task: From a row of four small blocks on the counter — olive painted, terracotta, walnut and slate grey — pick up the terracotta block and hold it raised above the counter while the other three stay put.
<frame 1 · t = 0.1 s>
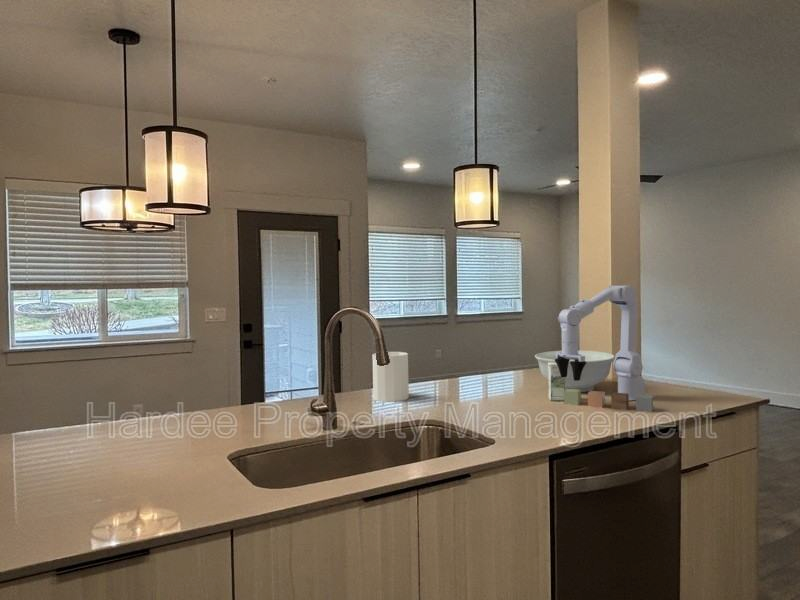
hand: (570, 378, 206), 10 cm above the table, tool pointing down, fingers open, 7 cm apart
syrup box: (556, 400, 218), on the table
bowl: (574, 389, 238), on the table
walnut block: (620, 408, 202), on the table
terracotta block: (596, 405, 206), on the table
olive block: (572, 403, 211), on the table
container: (390, 398, 228), on the table
slate block: (644, 410, 198), on the table
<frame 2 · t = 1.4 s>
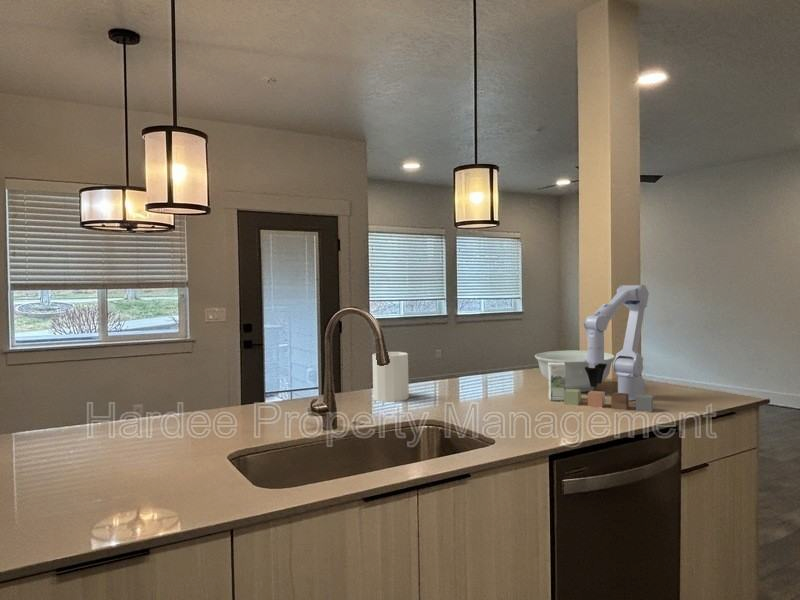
hand: (596, 385, 206), 8 cm above the table, tool pointing down, fingers open, 7 cm apart
nothing on the table moved.
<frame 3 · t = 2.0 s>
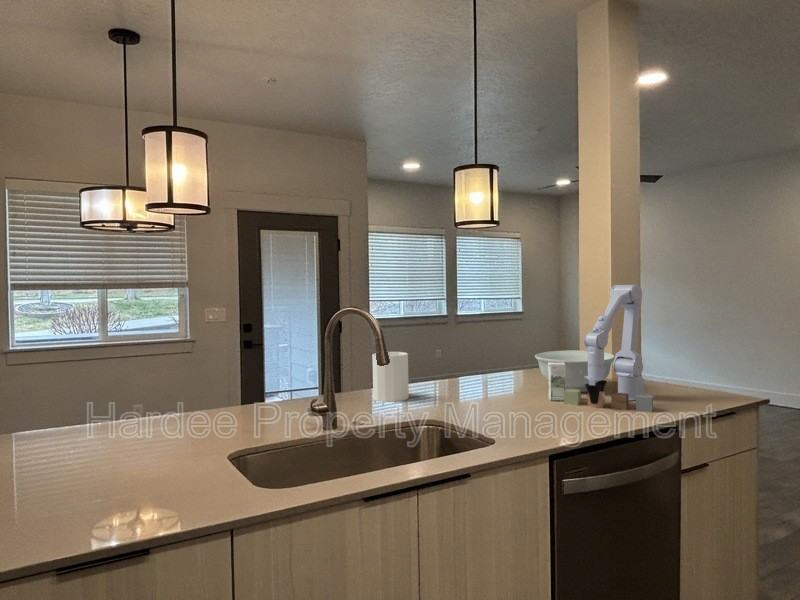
hand: (596, 401, 206), 1 cm above the table, tool pointing down, fingers open, 6 cm apart
nothing on the table moved.
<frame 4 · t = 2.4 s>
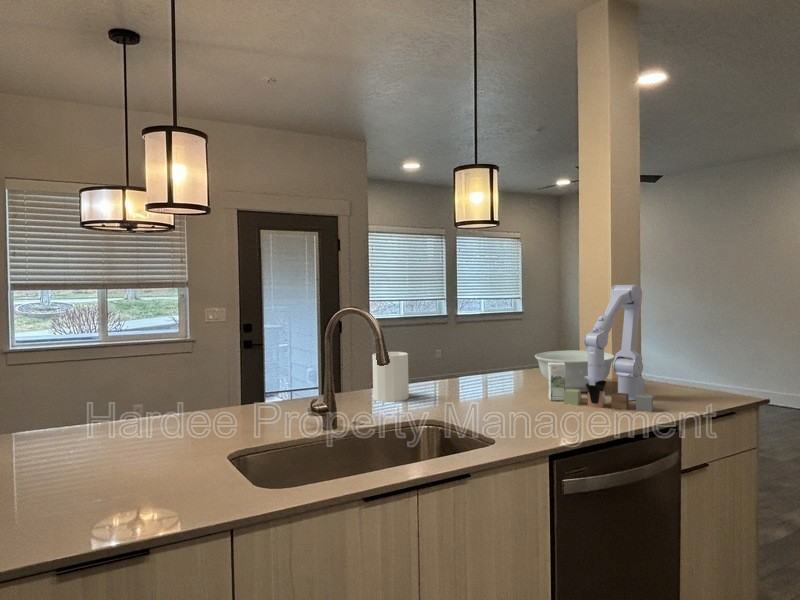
hand: (596, 401, 206), 1 cm above the table, tool pointing down, fingers closed on terracotta block, 5 cm apart
terracotta block: (596, 405, 206), on the table, touching gripper
everything else where it was.
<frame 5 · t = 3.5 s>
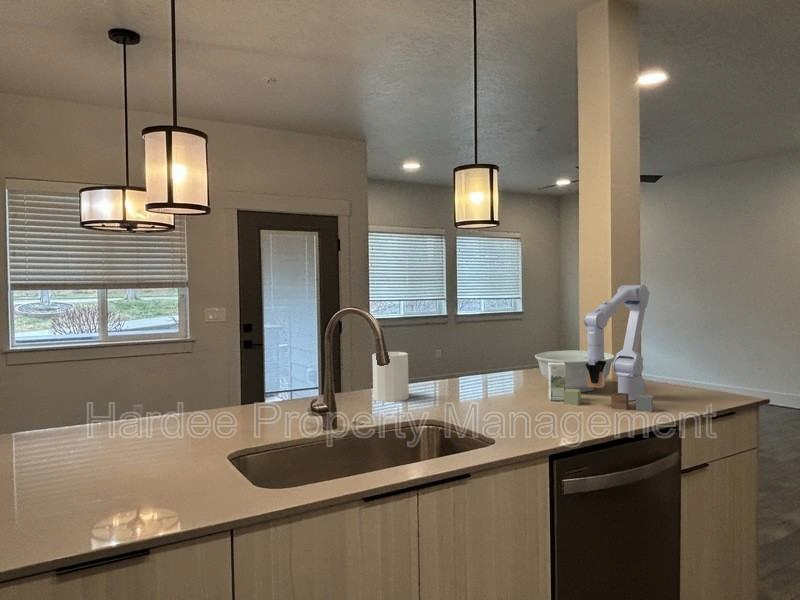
hand: (596, 381, 206), 9 cm above the table, tool pointing down, fingers closed on terracotta block, 5 cm apart
terracotta block: (596, 386, 206), point 7 cm above the table, touching gripper
everything else where it was.
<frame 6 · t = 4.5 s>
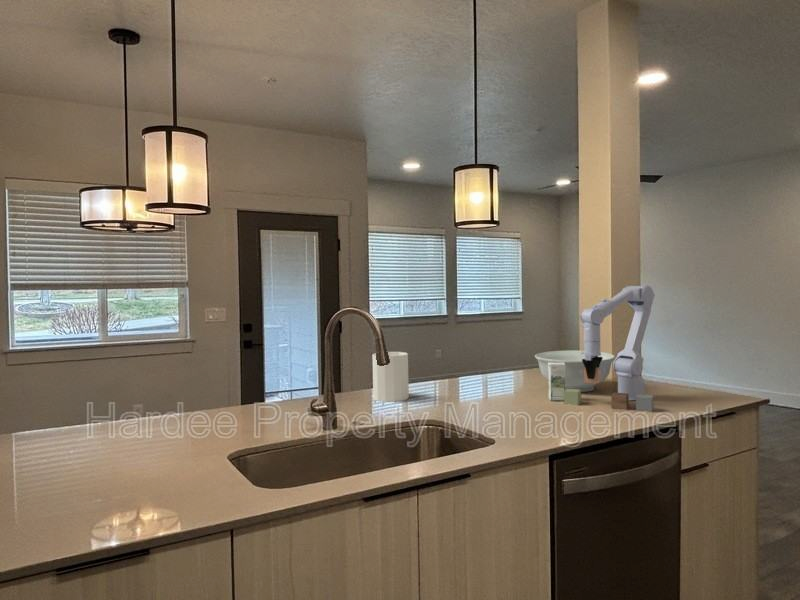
hand: (592, 377, 209), 10 cm above the table, tool pointing down, fingers closed on terracotta block, 5 cm apart
terracotta block: (592, 381, 209), point 8 cm above the table, touching gripper
everything else where it was.
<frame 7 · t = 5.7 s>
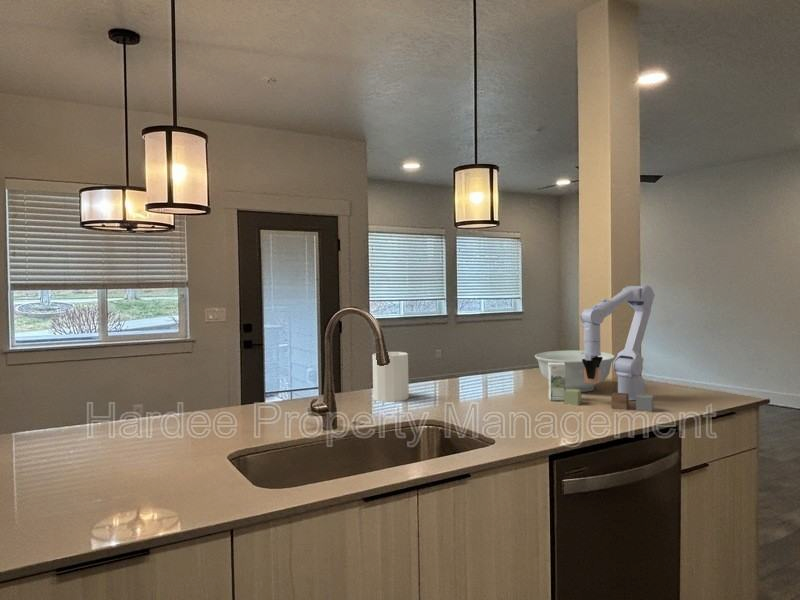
hand: (592, 377, 209), 10 cm above the table, tool pointing down, fingers closed on terracotta block, 5 cm apart
terracotta block: (592, 381, 209), point 8 cm above the table, touching gripper
everything else where it was.
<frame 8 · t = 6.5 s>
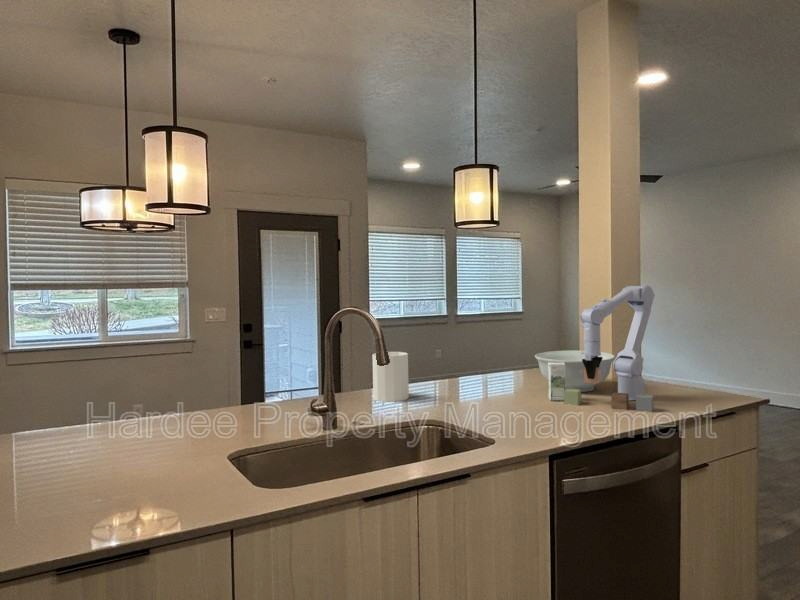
hand: (592, 377, 209), 10 cm above the table, tool pointing down, fingers closed on terracotta block, 5 cm apart
terracotta block: (592, 381, 209), point 8 cm above the table, touching gripper
everything else where it was.
at the end: the gripper is holding terracotta block; terracotta block point 8.3 cm above the table; walnut block moved 0.1 cm from its start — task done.
